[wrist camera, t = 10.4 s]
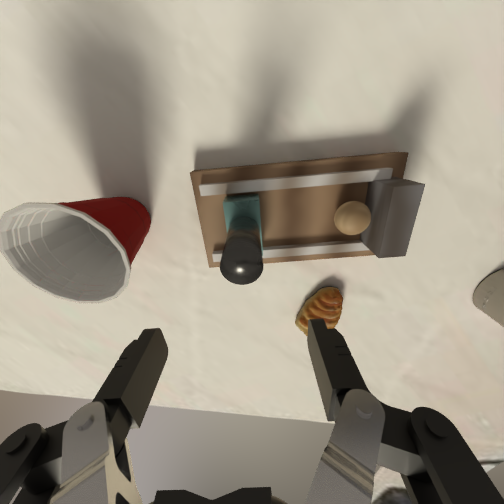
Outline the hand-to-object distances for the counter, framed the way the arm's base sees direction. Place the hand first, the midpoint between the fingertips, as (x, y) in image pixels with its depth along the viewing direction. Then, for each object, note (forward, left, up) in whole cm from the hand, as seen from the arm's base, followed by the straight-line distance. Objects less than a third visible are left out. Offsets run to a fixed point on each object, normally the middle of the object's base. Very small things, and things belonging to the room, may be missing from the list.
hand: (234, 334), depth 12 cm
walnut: (-13, 0, -16) cm, 21 cm away
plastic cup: (+16, -1, -21) cm, 26 cm away
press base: (-7, 0, -20) cm, 21 cm away
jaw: (0, 0, -18) cm, 18 cm away
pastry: (-11, +18, -21) cm, 29 cm away
